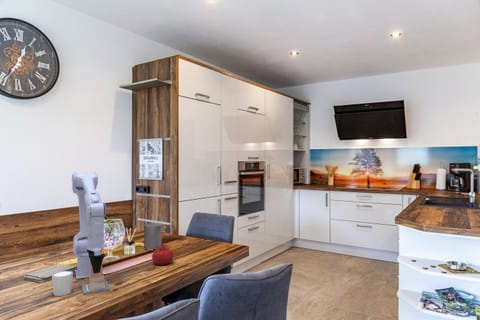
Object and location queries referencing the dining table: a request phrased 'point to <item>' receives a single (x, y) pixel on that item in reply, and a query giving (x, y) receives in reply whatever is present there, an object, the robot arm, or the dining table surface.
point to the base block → (96, 282)
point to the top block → (95, 273)
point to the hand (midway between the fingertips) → (95, 270)
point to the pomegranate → (162, 256)
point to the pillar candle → (152, 235)
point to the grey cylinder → (62, 283)
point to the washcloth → (47, 273)
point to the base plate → (87, 290)
